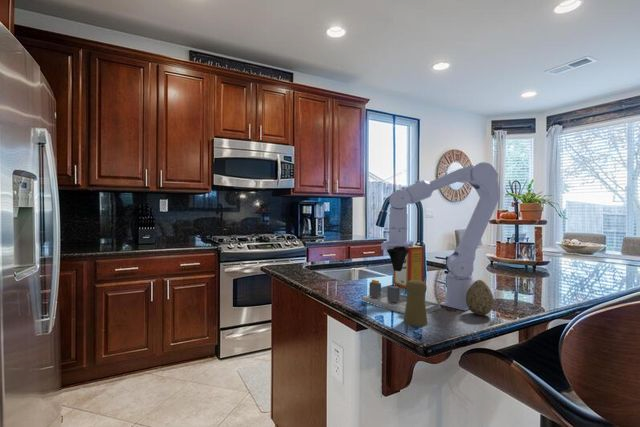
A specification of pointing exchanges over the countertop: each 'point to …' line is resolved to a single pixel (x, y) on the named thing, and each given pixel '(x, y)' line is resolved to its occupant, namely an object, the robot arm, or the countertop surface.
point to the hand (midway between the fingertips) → (397, 270)
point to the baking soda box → (410, 267)
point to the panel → (397, 303)
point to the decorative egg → (479, 298)
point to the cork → (416, 303)
